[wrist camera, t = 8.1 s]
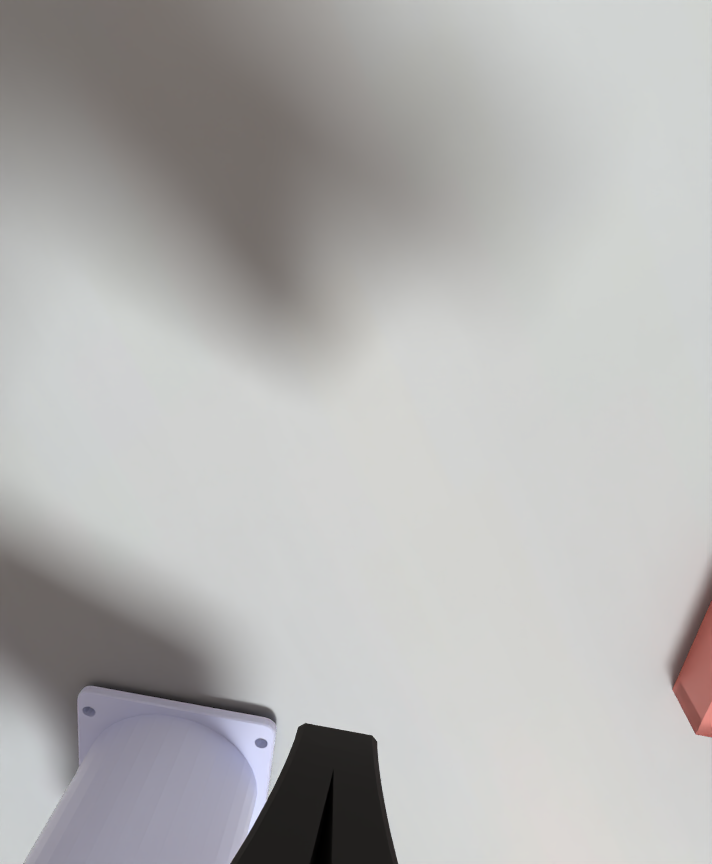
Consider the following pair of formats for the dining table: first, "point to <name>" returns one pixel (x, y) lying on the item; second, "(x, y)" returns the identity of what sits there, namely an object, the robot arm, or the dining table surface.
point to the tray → (698, 680)
